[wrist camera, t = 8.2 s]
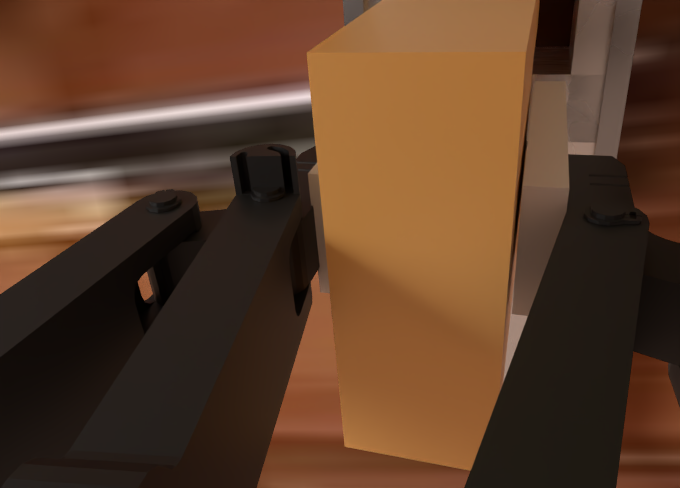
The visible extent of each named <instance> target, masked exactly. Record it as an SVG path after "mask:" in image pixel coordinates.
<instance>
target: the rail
mask: <svg viewBox="0 0 680 488" xmlns="http://www.w3.org/2000/svg"><path fill="white" fill-rule="evenodd" d="M380 1H382V0H343V8H344V23H345V26H346V25H347V24H349V23H350V22H351V21H353V20H354V19H356V18H357V17H359V16H360V15H361V14H363V13H364V12H366V11H367V10H369V9H370V8H372V7H373V6H374V5H376V4H377V3H379V2H380ZM641 6H642V0H574V8H573V17H572V26H571V35H570V44H569V47H535V51H534V58H533V70H532V82H531V94H530V105H529V117H528V129H527V141H528V134H529V126H530V117H531V108H532V100H533V91H534V83H535V81H566V107H567V135H568V154H576V155H600V156H613V157H614V158H616V159H617V153H618V147H619V141H620V135H621V129H622V123H623V117H624V110H625V104H626V98H627V92H628V86H629V80H630V74H631V68H632V61H633V55H634V49H635V43H636V37H637V31H638V25H639V19H640V12H641ZM515 270H516V269H515ZM514 282H515V279H514ZM513 294H514V288H513ZM512 305H513V297H512ZM527 317H528V316H524V315H515V314H512V306H511V315H510V325H509V334H508V343H507V352H506V361H505V371H504V379H505V377H506V374H507V371H508V368H509V366H510V363H511V360H512V358H513V355H514V352H515V350H516V347H517V344H518V341H519V339H520V336H521V333H522V331H523V328H524V325H525V322H526V320H527ZM503 382H504V380H503Z"/></svg>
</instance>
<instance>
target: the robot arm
mask: <svg viewBox="0 0 680 488" xmlns="http://www.w3.org/2000/svg"><path fill="white" fill-rule="evenodd" d="M230 161H231V167H232V173H233V178H234V184H235V190H236V196H235V197H234V199H233V200H232V202H231V204H230V205H229V207H228V208H227V209H224V210H213V211H202V212H200V211H199V206H198V201H197V197H196V196H195V195H194V194H193V193H191V192H187V191H174V190H173V189H171V190H166V191H165V190H162V191H158V192H156V193H155V194H152V195H149V196H146V197H144V198H142V199H141V200H139V201H137V202H135V203H134V204H132V205H131V206H130V207H128V208H127V209H125V210H124V211H122V212H121V213H119V214H118V215H116V216H115V217H113V218H112V219H110V220H109V221H107V222H106V223H105V224H103V225H102V226H100V227H99V228H97V229H96V230H94V231H93V232H91V233H90V234H88V235H87V236H85V237H84V238H82V239H81V240H80V241H78V242H77V243H75V244H74V245H72V246H71V247H69V248H68V249H66V250H65V251H63V252H62V253H60V254H59V255H57V256H56V257H55V258H53V259H52V260H50V261H49V262H47V263H46V264H44V265H43V266H41V267H40V268H38V269H37V270H35V271H34V272H32V273H31V274H29V275H28V276H27V277H25V278H24V279H22V280H21V281H19V282H18V283H16V284H15V285H13V286H12V287H10V288H9V289H7V290H6V291H4V292H3V293H2V294H0V488H256V487H257V484H258V481H259V477H260V474H261V471H262V467H263V464H264V461H265V458H266V454H267V451H268V448H269V444H270V441H271V438H272V434H273V431H274V428H275V424H276V421H277V418H278V414H279V411H280V408H281V404H282V401H283V398H284V394H285V391H286V388H287V384H288V381H289V378H290V375H291V371H292V368H293V365H294V361H295V358H296V355H297V351H298V348H299V345H300V341H301V338H302V335H303V331H304V328H305V325H306V321H307V318H308V315H309V311H310V308H311V305H312V291H311V280H312V279H313V277H314V275H315V274H316V272H317V270H318V274H319V284H320V292H325V293H330V289H329V278H328V268H327V258H326V247H325V237H324V227H323V216H322V206H321V196H320V185H319V175H318V165H317V154H316V146H315V147H313V148H311V149H309V150H307V151H305V152H303V153H301V154H300V155H299V157H298V158H297V159H296V152H295V150H294V149H292V148H291V147H289V146H285V145H280V144H264V145H256V146H251V147H247V148H244V149H242V150H239V151H237V152H235V153H234V154H232V155H231V156H230ZM648 230H649V220H648V217H647V215H645V214H644V213H643V212H642V211H640V210H639V209H637V208H635V207H634V203H633V199H632V194H631V190H630V187H629V181H628V178H627V173H626V168H625V165H623V164H622V163H621V162H619V161H618V160H617V159H616V158H614V157H613V156H600V155H576V154H568V135H567V107H566V81H535V83H534V91H533V100H532V108H531V117H530V126H529V134H528V143H527V151H526V160H525V169H524V177H523V186H522V198H521V210H520V222H519V234H518V246H517V258H516V270H515V282H514V294H513V305H512V314H515V315H524V316H528V317H527V320H526V322H525V325H524V328H523V331H522V333H521V336H520V339H519V341H518V344H517V347H516V350H515V352H514V355H513V358H512V360H511V363H510V366H509V368H508V371H507V374H506V377H505V379H504V382H503V385H502V387H501V390H500V393H499V395H498V398H497V401H496V404H495V406H494V409H493V412H492V414H491V417H490V420H489V423H488V425H487V428H486V431H485V433H484V436H483V439H482V441H481V444H480V447H479V450H478V452H477V455H476V458H475V460H474V463H473V466H472V469H471V471H470V474H469V477H468V479H467V482H466V485H465V487H464V488H616V484H617V476H618V468H619V460H620V452H621V444H622V436H623V428H624V420H625V412H626V405H627V397H628V389H629V381H630V373H631V365H632V357H633V351H634V352H637V353H641V354H644V355H647V356H650V357H653V358H656V359H659V360H662V361H665V362H668V363H669V364H668V375H669V378H670V380H671V383H672V386H673V389H674V392H675V395H676V398H677V401H678V404H679V406H680V243H677V242H673V241H670V240H666V239H664V238H661V237H659V236H656V235H654V234H652V233H651V232H649V231H648ZM145 272H147V273H148V277H149V281H150V284H151V288H152V292H153V295H152V296H151V297H150V298H148V299H147V300H145V301H144V300H143V298H142V296H141V293H140V289H139V286H138V280H139V279H140V278H141V276H142V275H143V274H144V273H145Z"/></svg>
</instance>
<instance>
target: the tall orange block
mask: <svg viewBox="0 0 680 488" xmlns="http://www.w3.org/2000/svg"><path fill="white" fill-rule="evenodd" d="M539 7H540V0H382V1H380V2H379V3H377V4H376V5H374V6H373V7H372V8H370V9H369V10H367V11H366V12H364V13H363V14H361V15H360V16H359V17H357V18H356V19H354V20H353V21H351V22H350V23H349V24H347V25H346V26H344V27H343V28H341V29H340V30H339V31H337V32H336V33H334V34H333V35H331V36H330V37H329V38H327V39H326V40H324V41H323V42H321V43H320V44H319V45H317V46H316V47H314V48H313V49H311V50H310V51H309V52H307V61H308V72H309V82H310V92H311V103H312V113H313V123H314V134H315V144H316V154H317V165H318V175H319V185H320V196H321V206H322V216H323V227H324V237H325V247H326V258H327V268H328V278H329V289H330V299H331V309H332V320H333V330H334V340H335V351H336V361H337V371H338V382H339V392H340V402H341V413H342V423H343V433H344V444H345V447H349V448H355V449H360V450H365V451H370V452H376V453H381V454H386V455H391V456H397V457H402V458H407V459H412V460H418V461H423V462H428V463H433V464H438V465H444V466H449V467H454V468H459V469H465V470H470V471H471V469H472V466H473V463H474V460H475V458H476V455H477V452H478V450H479V447H480V444H481V441H482V439H483V436H484V433H485V431H486V428H487V425H488V423H489V420H490V417H491V414H492V412H493V409H494V406H495V404H496V401H497V398H498V395H499V393H500V390H501V387H502V385H503V380H504V371H505V361H506V352H507V343H508V334H509V325H510V315H511V306H512V297H513V288H514V279H515V269H516V258H517V246H518V234H519V222H520V210H521V198H522V186H523V177H524V169H525V160H526V151H527V150H526V141H527V129H528V117H529V105H530V94H531V82H532V70H533V58H534V51H535V43H536V36H537V29H538V18H539Z"/></svg>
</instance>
